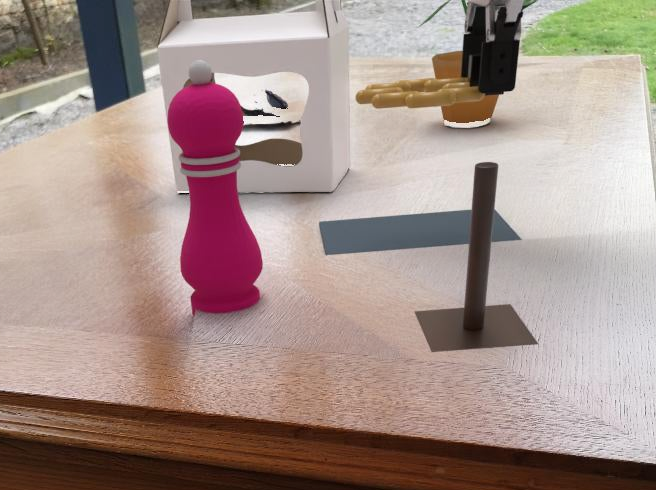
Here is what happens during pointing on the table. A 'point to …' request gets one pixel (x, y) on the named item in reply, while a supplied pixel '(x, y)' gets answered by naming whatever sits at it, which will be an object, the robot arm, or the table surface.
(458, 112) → the potted plant
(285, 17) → the gable box
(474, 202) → the peg stand
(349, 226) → the mat
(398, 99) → the yellow rounded bars
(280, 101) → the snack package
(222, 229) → the pepper mill
